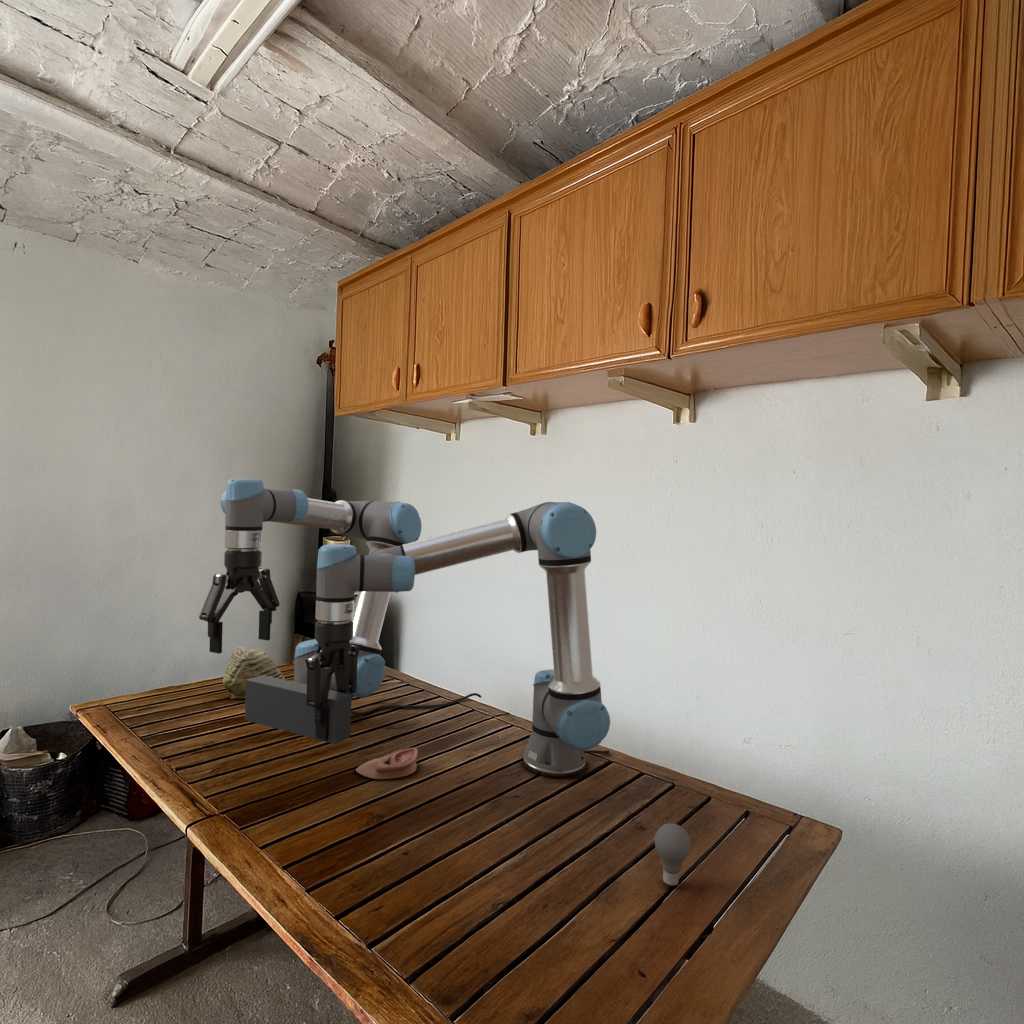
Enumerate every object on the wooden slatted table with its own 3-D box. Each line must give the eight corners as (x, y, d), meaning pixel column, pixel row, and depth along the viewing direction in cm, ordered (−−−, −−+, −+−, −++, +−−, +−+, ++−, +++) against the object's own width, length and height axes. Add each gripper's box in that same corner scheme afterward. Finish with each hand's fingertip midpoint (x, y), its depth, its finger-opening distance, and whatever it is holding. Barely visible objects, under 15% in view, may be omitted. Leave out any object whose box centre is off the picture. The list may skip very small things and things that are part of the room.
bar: (244, 720, 137) (245, 679, 137) (261, 714, 141) (262, 674, 141) (334, 744, 126) (336, 700, 125) (350, 737, 130) (351, 694, 130)
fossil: (218, 695, 195) (220, 647, 195) (278, 685, 208) (279, 640, 207) (228, 703, 189) (230, 653, 188) (289, 692, 201) (290, 645, 201)
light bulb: (648, 873, 111) (650, 816, 111) (681, 872, 111) (684, 816, 111) (659, 894, 105) (661, 834, 105) (694, 894, 105) (697, 834, 105)
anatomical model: (350, 758, 144) (371, 740, 155) (349, 775, 144) (371, 756, 155) (405, 766, 141) (423, 746, 152) (405, 783, 141) (422, 763, 152)
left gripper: (208, 554, 126) (206, 661, 126) (296, 546, 149) (294, 636, 149) (181, 552, 128) (179, 655, 129) (272, 544, 151) (269, 632, 152)
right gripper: (317, 630, 119) (313, 753, 119) (377, 616, 135) (373, 725, 135) (288, 625, 122) (284, 745, 123) (349, 612, 138) (346, 718, 139)
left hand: (241, 645), depth 139 cm, fingers open, 13 cm apart
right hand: (331, 734), depth 129 cm, fingers closed on bar, 5 cm apart
